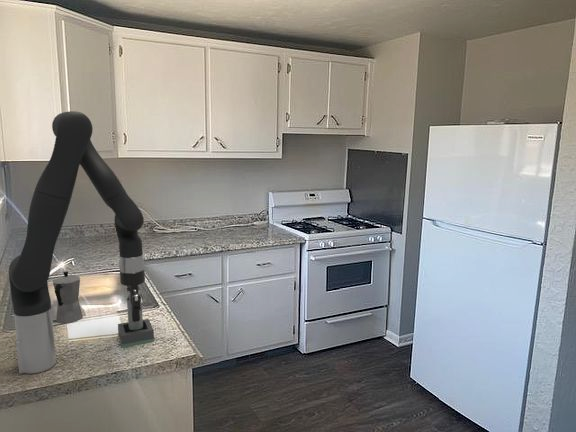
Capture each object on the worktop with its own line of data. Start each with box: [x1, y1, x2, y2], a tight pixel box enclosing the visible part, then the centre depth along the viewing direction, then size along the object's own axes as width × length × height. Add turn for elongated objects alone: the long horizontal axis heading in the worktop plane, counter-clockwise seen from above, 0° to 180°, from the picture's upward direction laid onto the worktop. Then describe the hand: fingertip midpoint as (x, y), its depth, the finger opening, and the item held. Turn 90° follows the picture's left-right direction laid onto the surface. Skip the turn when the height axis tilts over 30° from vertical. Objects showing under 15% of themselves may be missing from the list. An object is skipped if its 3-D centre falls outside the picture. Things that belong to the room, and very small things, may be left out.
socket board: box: [117, 318, 155, 348], centre depth 143 cm, size 10×10×4 cm
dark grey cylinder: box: [126, 296, 144, 330], centre depth 142 cm, size 4×4×10 cm
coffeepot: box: [52, 270, 83, 324], centre depth 156 cm, size 15×9×18 cm, turn 6°
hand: (135, 317), depth 142 cm, fingers closed on dark grey cylinder, 4 cm apart
